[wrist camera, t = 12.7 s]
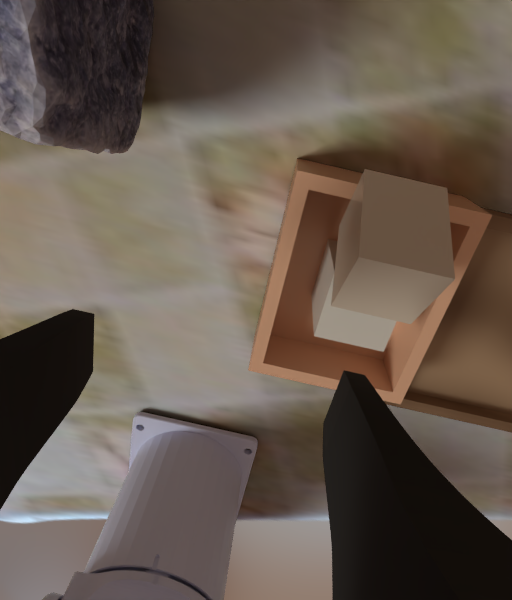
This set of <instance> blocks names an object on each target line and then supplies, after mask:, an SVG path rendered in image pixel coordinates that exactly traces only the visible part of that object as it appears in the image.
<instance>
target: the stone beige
mask: <svg viewBox="0 0 512 600" xmlns="http://www.w3.org/2000/svg"><path fill="white" fill-rule="evenodd" d="M454 280H455V273H454V261H453V250H452V238H451V227H450V215H449V203H448V192H447V188H445V187H441V186H437V185H432V184H428V183H424V182H419V181H415V180H411V179H406V178H402V177H398V176H393V175H389V174H385V173H380V172H376V171H372V170H368V169H364V172H363V174H362V176H361V178H360V181H359V183H358V185H357V187H356V189H355V192H354V194H353V196H352V198H351V200H350V203H349V205H348V207H347V209H346V212H345V214H344V216H343V218H342V220H341V223H340V225H339V234H338V243H337V253H336V262H335V272H334V281H333V291H332V300H331V306H333V307H337V308H342V309H346V310H350V311H355V312H359V313H364V314H368V315H372V316H377V317H381V318H386V319H390V320H394V321H399V322H403V323H407V324H411V323H412V322H413V321H414V320H415V319H416V318H417V317H418V316H419V315H420V314H421V313H422V312H423V311H424V310H425V309H426V308H427V307H428V306H429V305H430V304H431V303H432V302H433V301H434V300H435V299H436V298H437V297H438V296H439V295H440V294H441V293H442V292H443V291H444V290H445V289H446V288H447V287H448V286H449V285H450V284H451V283H452V282H453V281H454Z"/></svg>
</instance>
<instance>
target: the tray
mask: <svg viewBox="0 0 512 600" xmlns="http://www.w3.org/2000/svg"><path fill="white" fill-rule="evenodd" d="M480 208H481V207H480ZM482 209H484V210H485V211H487V212H488V213H490V214H491V215H492V217H491V219H490V221H489V223H488V225H487V228H486V230H485V232H484V234H483V236H482V238H481V240H480V242H479V244H478V246H477V248H476V250H475V252H474V254H473V256H472V258H471V260H470V263H469V265H468V267H467V269H466V271H465V273H464V275H463V277H462V279H461V281H460V283H459V285H458V287H457V289H456V291H455V293H454V295H453V298H452V300H451V302H450V304H449V306H448V308H447V310H446V312H445V314H444V316H443V318H442V320H441V322H440V324H439V326H438V328H437V330H436V333H435V335H434V337H433V339H432V341H431V343H430V345H429V347H428V349H427V351H426V353H425V355H424V357H423V359H422V361H421V363H420V366H419V368H418V370H417V372H416V374H415V376H414V378H413V380H412V382H411V384H410V386H409V388H408V390H407V392H406V394H405V396H404V398H403V401H402V403H401V405H400V404H396V403H392V402H387V401H384V402H385V404H388V405H392V406H397V407H401V408H406V409H410V410H415V411H419V412H424V413H428V414H432V415H437V416H441V417H446V418H450V419H455V420H459V421H464V422H468V423H473V424H477V425H481V426H486V427H490V428H495V429H499V430H504V431H508V432H512V215H511V214H507V213H502V212H498V211H494V210H489V209H485V208H482Z"/></svg>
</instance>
